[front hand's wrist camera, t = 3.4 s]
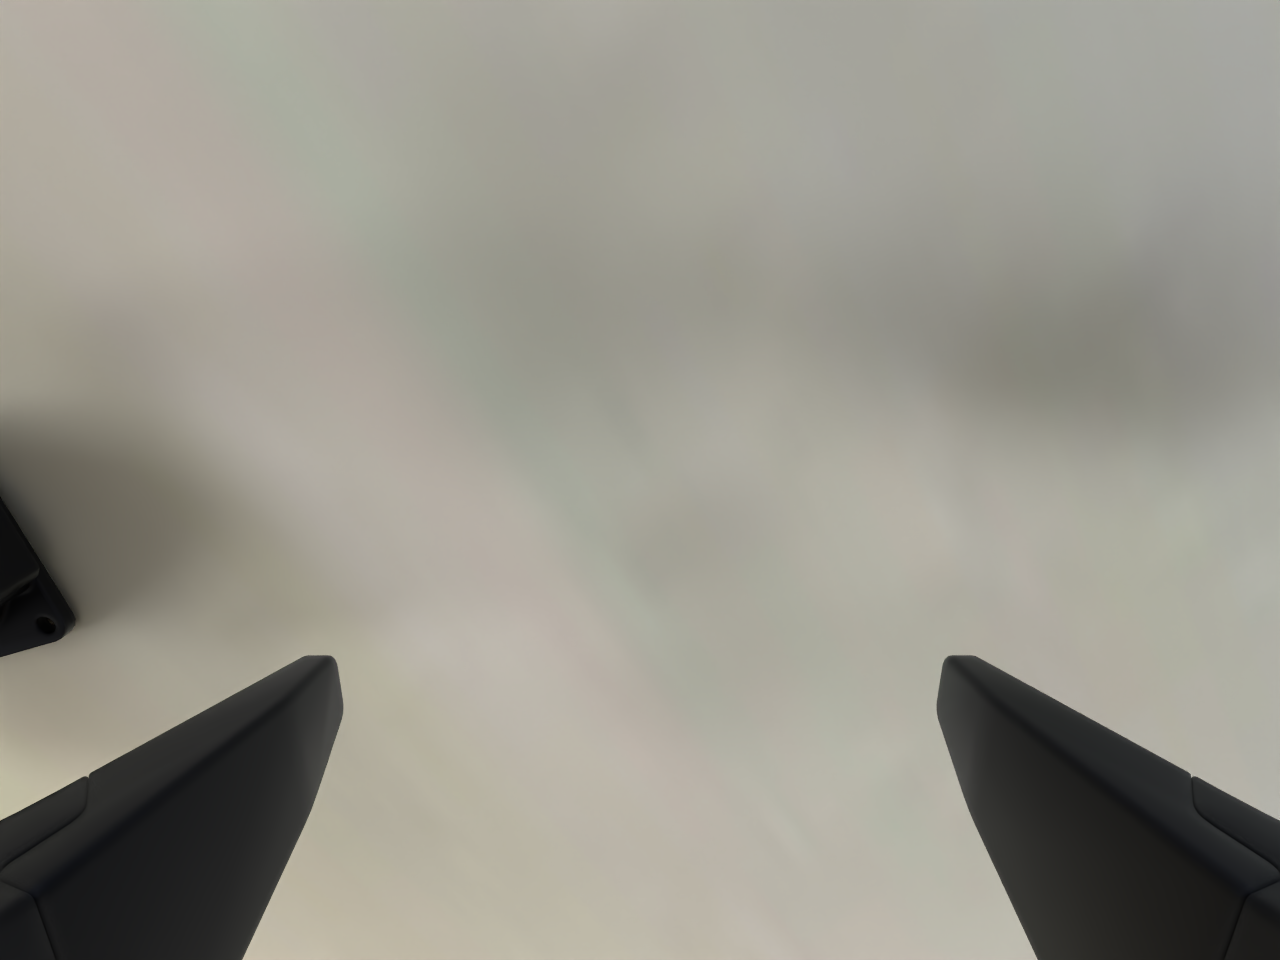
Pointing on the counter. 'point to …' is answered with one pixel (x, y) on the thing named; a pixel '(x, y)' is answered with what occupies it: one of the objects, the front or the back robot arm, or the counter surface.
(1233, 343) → the counter surface
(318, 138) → the counter surface
